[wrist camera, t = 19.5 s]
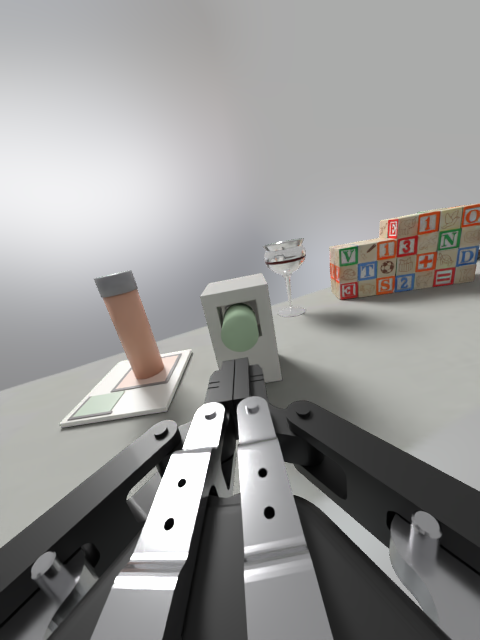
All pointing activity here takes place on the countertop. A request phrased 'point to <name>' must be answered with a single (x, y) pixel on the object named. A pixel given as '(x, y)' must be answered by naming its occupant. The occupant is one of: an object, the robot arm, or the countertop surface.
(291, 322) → the countertop surface
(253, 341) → the button
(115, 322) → the terracotta marker
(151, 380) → the white square board
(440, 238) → the stack of blocks
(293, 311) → the wineglass
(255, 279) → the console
